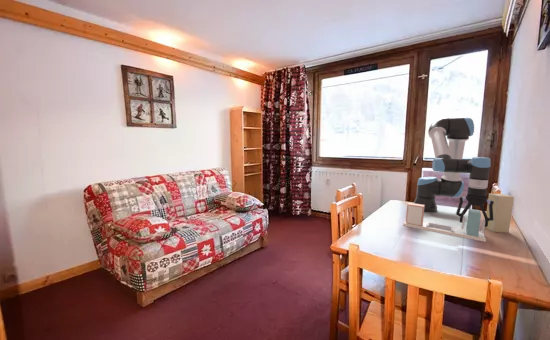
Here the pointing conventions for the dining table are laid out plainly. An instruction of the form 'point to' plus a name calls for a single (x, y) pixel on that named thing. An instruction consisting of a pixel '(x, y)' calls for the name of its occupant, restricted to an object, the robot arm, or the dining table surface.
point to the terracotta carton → (415, 214)
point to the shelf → (447, 230)
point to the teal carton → (473, 222)
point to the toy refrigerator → (500, 212)
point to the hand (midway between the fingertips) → (472, 230)
